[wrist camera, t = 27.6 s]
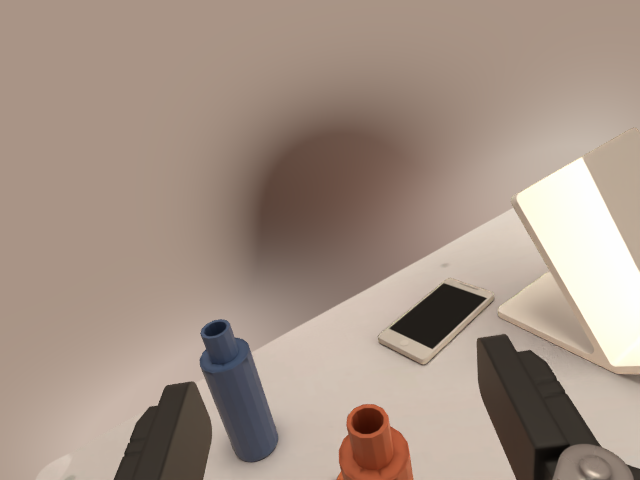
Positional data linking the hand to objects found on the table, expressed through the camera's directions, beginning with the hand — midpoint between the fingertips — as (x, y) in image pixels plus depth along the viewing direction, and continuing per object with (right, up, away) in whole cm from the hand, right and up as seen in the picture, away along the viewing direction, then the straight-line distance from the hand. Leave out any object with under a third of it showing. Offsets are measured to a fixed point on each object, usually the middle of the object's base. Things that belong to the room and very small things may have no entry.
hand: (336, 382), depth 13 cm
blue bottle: (-7, -17, +36) cm, 40 cm away
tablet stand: (+37, -3, +45) cm, 58 cm away
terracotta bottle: (+5, -20, +23) cm, 31 cm away
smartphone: (+15, -6, +47) cm, 50 cm away
